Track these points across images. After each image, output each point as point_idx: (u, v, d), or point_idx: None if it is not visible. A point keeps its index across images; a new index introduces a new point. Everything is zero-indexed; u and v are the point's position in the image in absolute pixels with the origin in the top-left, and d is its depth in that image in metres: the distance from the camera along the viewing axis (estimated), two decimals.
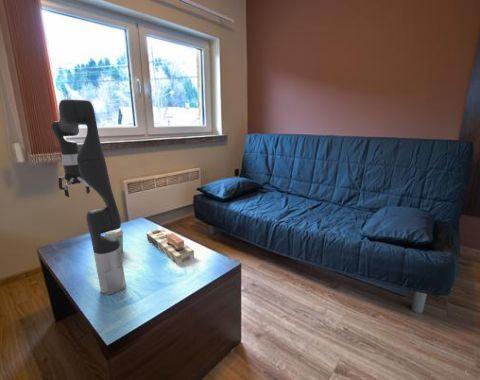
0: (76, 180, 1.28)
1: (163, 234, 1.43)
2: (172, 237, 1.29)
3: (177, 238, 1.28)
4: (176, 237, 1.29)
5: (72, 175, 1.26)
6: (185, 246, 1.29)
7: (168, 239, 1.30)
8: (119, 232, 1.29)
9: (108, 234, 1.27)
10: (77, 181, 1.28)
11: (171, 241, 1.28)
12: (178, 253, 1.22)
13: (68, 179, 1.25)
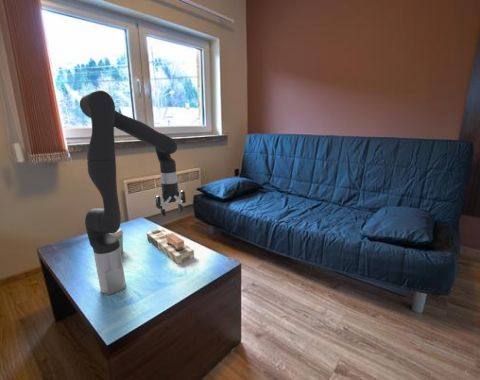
0: (172, 198, 1.23)
1: (163, 234, 1.43)
2: (172, 237, 1.29)
3: (177, 238, 1.28)
4: (176, 237, 1.29)
5: (169, 194, 1.21)
6: (185, 246, 1.29)
7: (168, 239, 1.30)
8: (119, 232, 1.29)
9: None
10: (173, 200, 1.23)
11: (171, 241, 1.28)
12: (178, 253, 1.22)
13: (166, 198, 1.21)
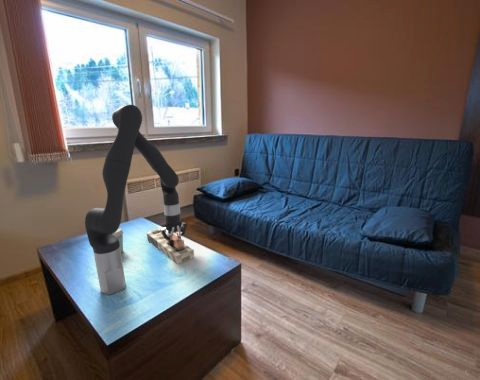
0: (175, 229, 1.27)
1: None
2: (172, 237, 1.29)
3: (177, 238, 1.28)
4: (176, 237, 1.29)
5: (172, 224, 1.25)
6: (185, 246, 1.29)
7: None
8: (119, 232, 1.29)
9: None
10: (176, 229, 1.27)
11: None
12: (178, 253, 1.22)
13: (169, 230, 1.25)
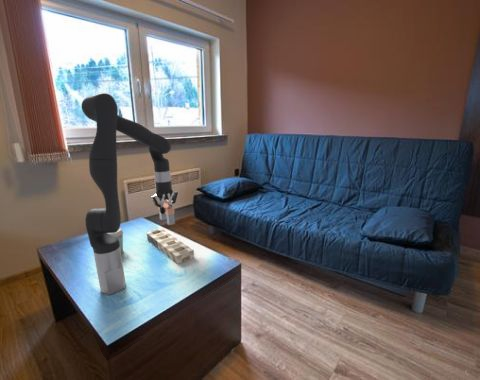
0: (166, 196, 1.29)
1: (163, 234, 1.43)
2: (163, 205, 1.31)
3: (168, 205, 1.30)
4: (167, 205, 1.31)
5: (163, 192, 1.27)
6: (185, 246, 1.29)
7: None
8: (119, 232, 1.29)
9: None
10: (167, 197, 1.29)
11: None
12: (178, 253, 1.22)
13: (160, 197, 1.27)
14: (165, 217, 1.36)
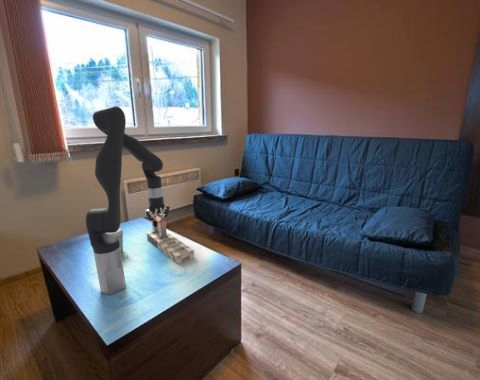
0: (158, 210, 1.39)
1: None
2: (156, 219, 1.41)
3: (160, 219, 1.40)
4: (159, 218, 1.41)
5: (155, 206, 1.37)
6: (185, 246, 1.29)
7: None
8: (119, 232, 1.29)
9: (108, 234, 1.27)
10: (159, 211, 1.39)
11: None
12: (178, 253, 1.22)
13: (153, 211, 1.37)
14: (158, 229, 1.45)
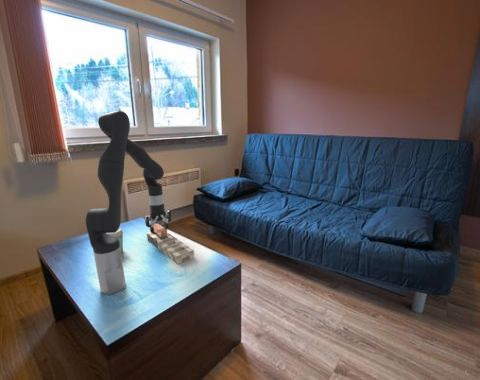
0: (159, 217, 1.40)
1: None
2: (157, 227, 1.42)
3: (161, 227, 1.41)
4: (160, 226, 1.42)
5: (156, 213, 1.38)
6: (185, 246, 1.29)
7: (154, 229, 1.43)
8: (119, 232, 1.29)
9: (108, 234, 1.27)
10: (160, 218, 1.40)
11: (156, 230, 1.41)
12: (178, 253, 1.22)
13: (153, 217, 1.38)
14: None
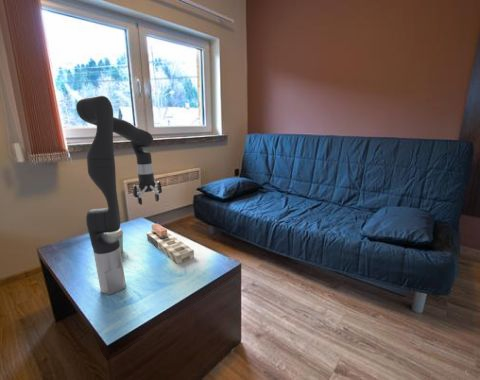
0: (149, 188, 1.34)
1: None
2: (157, 227, 1.42)
3: (161, 227, 1.41)
4: (160, 226, 1.42)
5: (145, 184, 1.33)
6: (185, 246, 1.29)
7: (153, 229, 1.43)
8: (119, 232, 1.29)
9: (108, 234, 1.27)
10: (149, 189, 1.34)
11: (155, 230, 1.41)
12: (178, 253, 1.22)
13: (142, 187, 1.32)
14: None
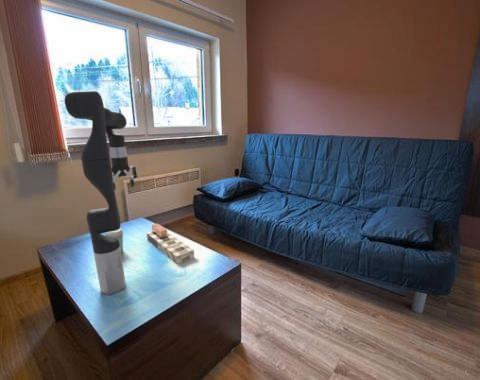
0: (122, 173, 1.29)
1: None
2: (157, 227, 1.42)
3: (161, 227, 1.41)
4: (160, 226, 1.42)
5: (119, 168, 1.27)
6: (185, 246, 1.29)
7: (153, 229, 1.43)
8: (119, 232, 1.29)
9: (108, 234, 1.27)
10: (123, 174, 1.29)
11: (155, 230, 1.41)
12: (178, 253, 1.22)
13: (115, 172, 1.26)
14: None
